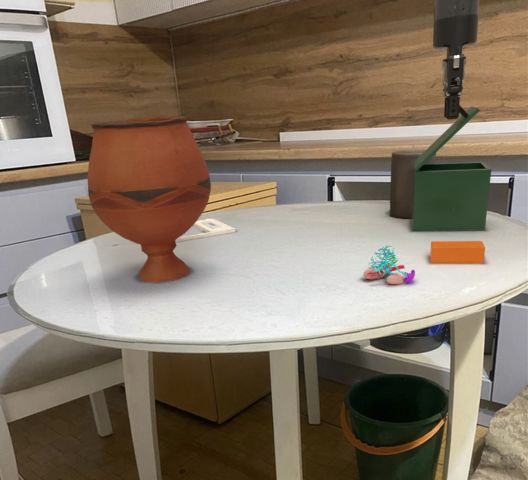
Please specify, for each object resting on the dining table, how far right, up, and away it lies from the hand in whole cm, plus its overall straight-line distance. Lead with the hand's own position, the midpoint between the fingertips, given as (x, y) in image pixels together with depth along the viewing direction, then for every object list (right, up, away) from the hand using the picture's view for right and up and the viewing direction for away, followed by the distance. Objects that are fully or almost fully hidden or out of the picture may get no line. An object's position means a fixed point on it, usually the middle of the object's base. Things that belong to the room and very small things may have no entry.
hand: (451, 118), depth 102 cm
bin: (+2, -19, +9) cm, 21 cm away
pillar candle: (-2, -13, +22) cm, 25 cm away
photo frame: (-53, -18, +19) cm, 59 cm away
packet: (-4, -30, -14) cm, 33 cm away
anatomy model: (-17, -34, -21) cm, 44 cm away
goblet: (-53, -32, -10) cm, 63 cm away
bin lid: (0, -3, +2) cm, 4 cm away
